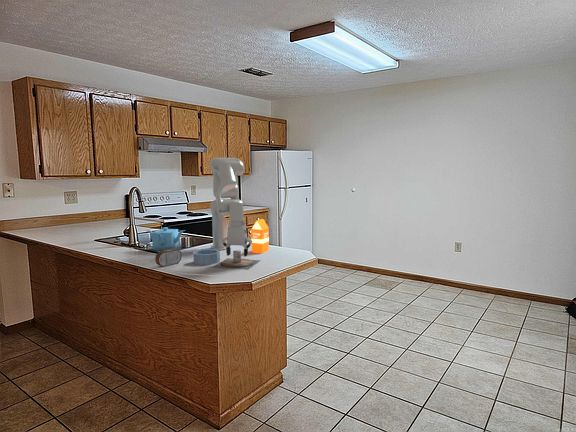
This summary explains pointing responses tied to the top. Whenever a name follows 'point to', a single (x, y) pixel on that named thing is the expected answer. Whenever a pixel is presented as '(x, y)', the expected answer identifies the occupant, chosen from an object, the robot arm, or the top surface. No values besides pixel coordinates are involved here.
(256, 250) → the orange juice
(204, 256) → the bowl
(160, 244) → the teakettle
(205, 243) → the top surface
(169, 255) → the tin
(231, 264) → the lid
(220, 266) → the mat
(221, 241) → the robot arm
